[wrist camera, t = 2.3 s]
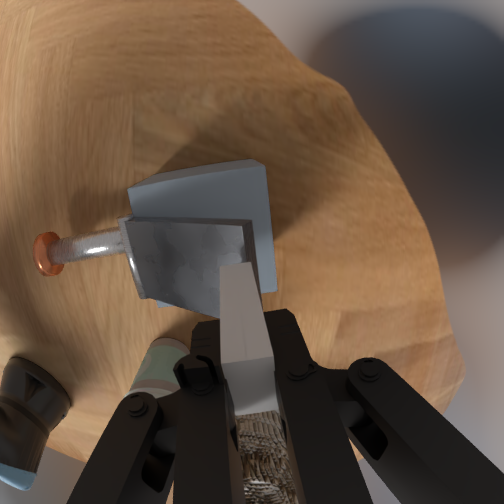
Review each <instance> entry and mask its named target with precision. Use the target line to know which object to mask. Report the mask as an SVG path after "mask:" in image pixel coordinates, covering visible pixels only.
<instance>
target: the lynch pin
mask: <svg viewBox="0 0 504 504" xmlns="http://www.w3.org/2000/svg"><path fill="white" fill-rule="evenodd" d="M124 253H125V249H124V246H123V242H122V238H121V235H120V231H119V227H113V228H108V229H103V230H98V231H94V232H89V233H84V234H80V235H75V236H71V237H67V238H62V239H60V238H59V236H58V235H57V234H56V233H54V232H46V233H43V234H40V235H38V236H37V238H36V239H35V241H34V245H33V258H34V262H35V265H36V267H37V269H38V271H39V272H40V273H41V274H42V275H44V276H54V275H58V274H60V273H61V271H62V270H63V267H64V264H67V263H72V262H78V261H84V260H89V259H95V258H101V257H107V256H113V255H118V254H124Z"/></svg>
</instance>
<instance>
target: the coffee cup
mask: <svg viewBox="0 0 504 504" xmlns="http://www.w3.org/2000/svg"><path fill="white" fill-rule="evenodd" d="M188 354H190V352H189V350H188V348H187V347H186V346H185V345H184V344H183V343H181V342H180V341H178V340H175V339H171V338H160V339H157V340H155V341H153V342H152V343H151V345H150V347H149V349H148V351H147V353H146V355H145V357H144V359H143V361H142V364H141V366H140V368H139V370H138V372H137V375H136V377H135V379H134V381H133V384H132V386H131V388H130V391H129V392H128V393H127V394H126V395H125V396H124V398H125V397H126V396H128V395H129V394H131V393H135V392H147V393H149V394H152V395H153V396H154V397H155V398H159V397H163V396H166V395H169V394H172V393H174V392H176V391H177V390H179V389H180V386H179V383H178V381H177V379H176V377H175V374H174V372H173V368H174V365H175V363H176V362H177V361H178V360H179V359H180V358H182V357H184V356H186V355H188Z"/></svg>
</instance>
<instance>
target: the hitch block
mask: <svg viewBox="0 0 504 504" xmlns="http://www.w3.org/2000/svg"><path fill="white" fill-rule="evenodd" d="M127 190H128V195H129V200H130V204H131V209H132V214H133V217H189V218H222V219H248V220H252V223H253V231H254V240H255V248H256V256H257V264H258V273H259V281H260V290H261V294H262V293H268V292H274V291H278V290H277V278H276V267H275V256H274V246H273V235H272V225H271V215H270V205H269V196H268V186H267V177H266V168H265V165H263V164H261V163H259V162H257V161H255V160H254V159H245V160H237V161H230V162H223V163H216V164H210V165H203V166H197V167H191V168H186V169H180V170H175V171H169V172H164V173H159V174H155V175H153V176H151V177H149V178H147V179H145V180H143V181H141V182H139V183H137V184H135V185H134V186H132V187H130V188H128V189H127ZM156 302H157V305H158V308H160V307H168V306H174V305H171V304H167V303H164V302H161V301H158V300H156Z"/></svg>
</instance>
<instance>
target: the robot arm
mask: <svg viewBox="0 0 504 504" xmlns="http://www.w3.org/2000/svg"><path fill="white" fill-rule="evenodd" d="M191 340H192V341H191V349H190V354H188V355H186V356H184V357H182V358H180V359H179V360H178V361H177V362H176V363H175V365H174V368H173V372H174V374H175V377H176V379H177V381H178V383H179V386H180V389H179V390H177V391H176V392H174V393H172V394H169V395H166V396H163V397H159V398H155V397H154V396H153V395H152V394H149V393H147V392H135V393H131V394H129V395H128V396H126V397H125V398H123V400H122V401H121V402H120V403H119V405H118V407H117V409H116V410H115V412H114V414H113V416H112V417H111V419H110V421H109V423H108V425H107V427H106V428H105V430H104V432H103V434H102V436H101V438H100V439H99V441H98V443H97V445H96V447H95V449H94V451H93V452H92V454H91V456H90V458H89V460H88V462H87V464H86V466H85V468H84V470H83V472H82V473H81V476H80V478H79V479H78V481H77V483H76V485H75V487H74V489H73V491H72V493H71V496H70V497H69V499H68V501H67V504H166V501H167V498H168V495H169V492H170V489H171V486H172V483H173V480H174V486H173V487H174V488H173V504H246V500H245V491H244V483H243V474H242V465H241V455H240V446H239V436H238V428H237V425H236V422H235V415H236V416H238V415H246V414H253V413H260V412H266V411H272V410H278V409H279V412H280V420H281V431H282V433H283V435H284V440H285V444H286V449H287V453H288V458H289V463H290V467H291V472H292V476H293V481H294V485H295V490H296V494H297V498H298V503H299V504H373V502H372V499H371V496H370V494H369V491H368V488H367V486H366V483H365V480H364V478H363V475H362V472H361V470H360V467H359V464H358V462H357V459H356V457H355V454H354V451H353V449H352V446H351V444H350V441H349V439H350V440H351V441H352V443H353V444H354V445H355V447H356V448H357V449H358V450H359V452H360V453H361V454H362V456H363V457H364V458H365V459H366V461H367V462H368V463H369V464H370V466H371V467H372V468H373V469H374V471H375V472H376V473H377V475H378V476H379V477H380V478H381V479H382V481H383V482H384V483H385V484H386V486H387V487H388V488H389V489H390V491H391V492H392V493H393V494H394V495H395V497H396V498H397V499H398V500H399V502H400V503H401V504H504V474H503V473H502V472H501V471H500V470H499V469H498V468H497V467H496V466H495V465H494V464H493V463H492V462H491V461H490V460H489V459H488V458H487V457H486V456H484V454H482V453H481V452H480V451H479V450H478V449H477V448H476V447H475V446H474V445H473V444H472V443H471V442H470V441H469V440H468V439H467V438H466V437H465V436H464V435H462V434H461V433H460V432H459V431H458V430H457V429H456V428H455V427H454V426H453V425H452V424H451V423H450V422H449V421H448V420H446V419H445V418H444V417H443V416H442V415H441V414H440V413H439V412H438V411H437V410H436V409H435V408H434V407H433V406H432V405H430V404H429V403H428V402H427V401H426V400H425V399H424V398H423V397H422V396H421V395H420V394H419V393H418V392H416V391H415V390H414V389H413V388H412V387H411V386H410V385H409V384H408V383H407V382H406V381H405V380H403V379H402V378H401V377H400V376H399V375H398V374H397V373H396V372H395V371H394V370H393V369H392V368H390V367H389V366H388V365H387V364H386V363H385V362H383V361H381V360H380V359H376V358H372V357H371V358H362V359H358V360H356V361H355V362H353V363H352V364H351V365H350V367H349V369H327V368H324V367H321V366H319V365H318V364H317V363H316V362H315V361H313V359H312V358H311V356H310V353H309V351H308V348H307V346H306V343H305V341H304V338H303V336H302V333H301V332H300V328H299V326H298V324H297V321H296V318H295V316H294V314H292V313H291V312H290V311H289V310H287V309H280V310H274V311H268V312H263V310H262V306H261V302H260V298H259V294H258V290H257V286H256V282H255V277H254V273H253V269H252V265H251V262H245V263H239V264H232V265H225V266H220V320H213V321H205V322H198V324H197V325H196V326H195V328H194V329H193V331H192V339H191ZM69 408H70V400H69V397H68V395H67V393H66V392H65V390H64V389H63V388H62V386H61V385H60V384H59V383H58V382H57V381H56V380H55V379H54V378H53V377H52V376H51V375H49V374H48V373H47V372H46V371H44V370H43V369H42V368H40V367H39V366H37V365H35V364H34V363H32V362H30V361H28V360H25V359H22V358H12V359H10V360H9V362H8V363H7V365H6V366H5V368H4V371H3V376H2V381H1V385H0V480H1V481H3V482H5V483H7V484H9V485H11V486H13V487H15V488H18V489H21V490H29V489H30V488H31V486H32V484H33V481H34V479H35V477H36V475H37V474H36V473H37V469H38V466H39V463H40V460H41V457H42V454H43V451H44V448H45V445H46V442H47V439H48V437H49V434H50V432H51V431H52V430H53V429H54V428H55V427H56V426H57V425H58V424H59V423H60V421H61V420H62V419H64V418H65V417H66V415H67V413H68V411H69ZM348 437H349V438H348Z"/></svg>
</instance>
